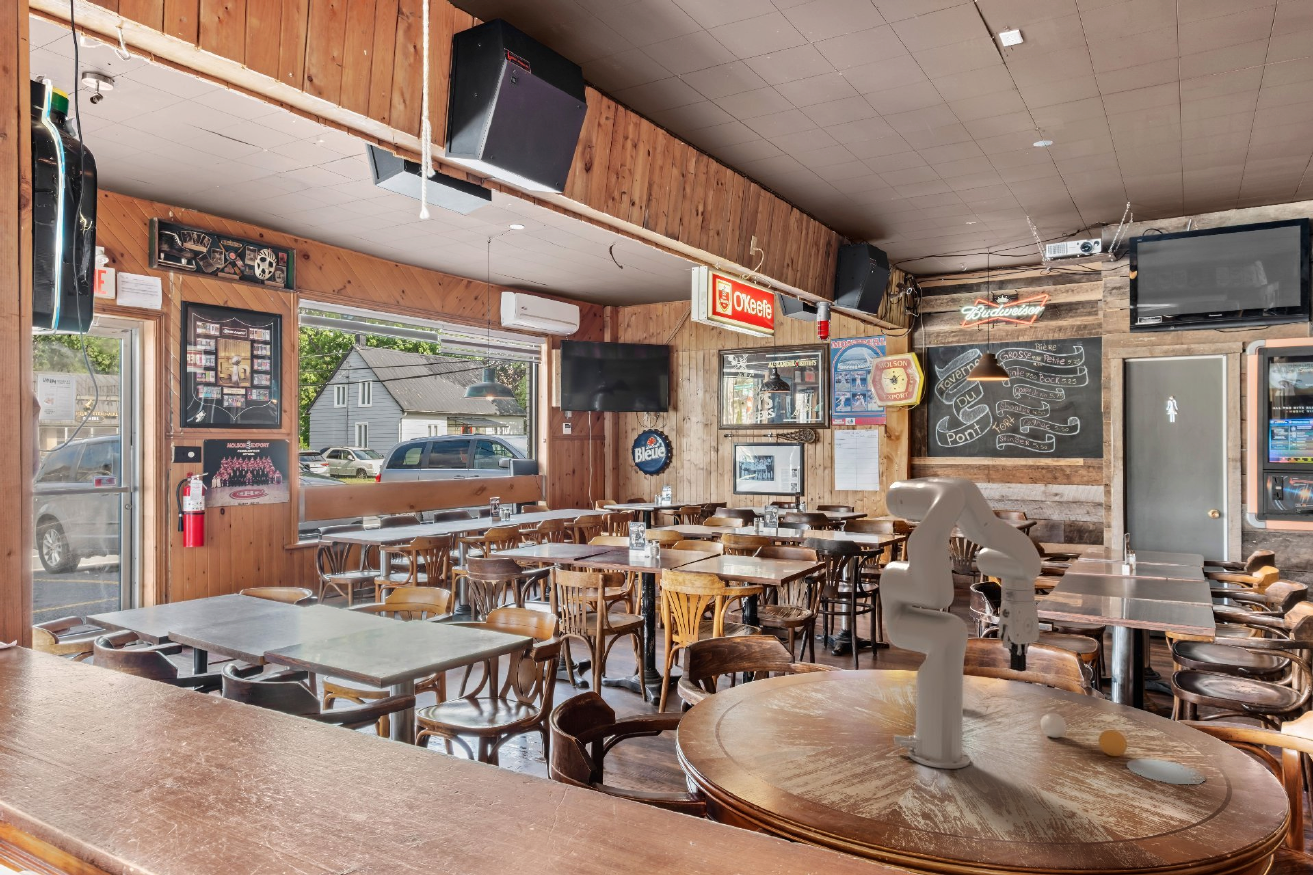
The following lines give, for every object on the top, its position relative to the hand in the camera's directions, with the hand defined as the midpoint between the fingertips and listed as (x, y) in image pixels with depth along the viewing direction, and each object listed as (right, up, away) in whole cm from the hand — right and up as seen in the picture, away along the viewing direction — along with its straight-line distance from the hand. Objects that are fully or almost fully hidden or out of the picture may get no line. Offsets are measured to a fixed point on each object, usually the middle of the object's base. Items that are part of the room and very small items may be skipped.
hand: (1018, 669), depth 202 cm
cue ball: (+4, -11, -9) cm, 14 cm away
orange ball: (+12, -10, -21) cm, 26 cm away
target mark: (+18, -13, -30) cm, 37 cm away
